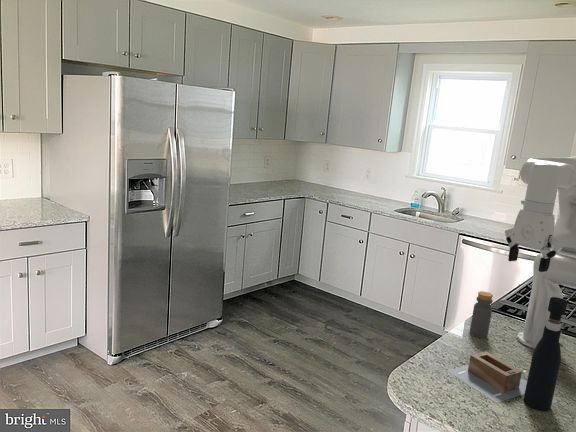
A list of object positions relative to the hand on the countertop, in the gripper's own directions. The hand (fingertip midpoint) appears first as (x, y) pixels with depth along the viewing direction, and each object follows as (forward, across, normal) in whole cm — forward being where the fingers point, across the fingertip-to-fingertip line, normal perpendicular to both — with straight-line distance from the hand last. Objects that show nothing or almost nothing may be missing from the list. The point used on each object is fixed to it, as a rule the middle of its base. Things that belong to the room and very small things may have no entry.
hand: (527, 265), depth 142 cm
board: (+32, +4, -12) cm, 35 cm away
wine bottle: (+32, +17, -11) cm, 38 cm away
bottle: (+32, -20, +11) cm, 40 cm away
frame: (+31, +4, -12) cm, 34 cm away
